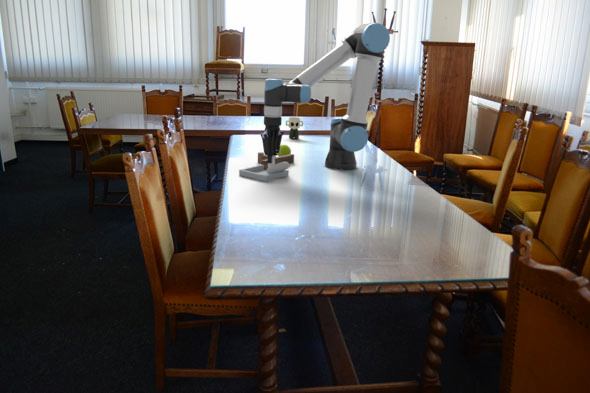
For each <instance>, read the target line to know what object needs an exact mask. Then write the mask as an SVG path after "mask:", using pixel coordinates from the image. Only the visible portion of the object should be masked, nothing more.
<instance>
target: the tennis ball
mask: <svg viewBox="0 0 590 393" xmlns="http://www.w3.org/2000/svg"><path fill="white" fill-rule="evenodd" d="M277 154H278V155H277V157H279V156H284V155H288V154H292V151H291V147H290V146H289V145H287V144H281V145H280V150H279V153H277Z"/></svg>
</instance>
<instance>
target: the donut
mask: <svg viewBox="0 0 590 393" xmlns="http://www.w3.org/2000/svg"><path fill="white" fill-rule="evenodd" d="M289 168H290V164H289V163H288V162H286V161H284V162H280V163H277V164H275V165H272V166H270V167H268V168H267V169H266V170H267V173H268V174H273V173H276V172H280V171H284V170H289Z"/></svg>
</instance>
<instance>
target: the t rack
mask: <svg viewBox="0 0 590 393" xmlns="http://www.w3.org/2000/svg"><path fill="white" fill-rule="evenodd" d="M284 161H286V162H288V163H289V165H290V164H293V163H295V154H293V153H291V154H288V155H284V156H276V159H275V164H277V163H280V162H284ZM257 163H258V164H260V165H264V170H267V168H268V156H267V155H265V154H264V151H263V152H262V151H259V152H257Z"/></svg>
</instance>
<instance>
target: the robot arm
mask: <svg viewBox="0 0 590 393" xmlns="http://www.w3.org/2000/svg"><path fill="white" fill-rule="evenodd" d="M390 36H391V35H390V32H389V30H388V28H387V27H386V26H385V25H384V24H382V23H379V22H370V23H366V24H365V23H364V24H361V25H359V26H358V27H356V28H355V29H354V30H353V31H351V32H350V34H348V35H347V36H345V37H344V38H343V39H342V40H341V43H340V44H339V45H338V46H336V47H335V48H333V49H332V50H331V51H329V52H328V53H327V54H326V55H324V56H323V57H321V58H320V59H319V60H316V62H315V63H313V64H312V65H311V66H309V67H308V68H306V69H305V70H304V71H302V72H301V73H300V74H298V75H296V77H294V78H293V79H292V80H290V81H288V82H286V83H284V80H283V79H281V78H266V79H265V81H264V92H263V93H264V104H263V106H264V108H263V110H264V111H263V115H264V117H263V125H264V126H265V127H264V132H263V133H262V132H261V133H260V138H261V140H262V146H263V147H262V148H263V153H264V155H267V156H268V167H270V166H272V165H275V159H276V157H278V154H277V153H279V150H280V146H281V145H282V139H283V136H284V131H282V130H281V126H282V115H283V103H295V104H296V103H299V104H303V103H304V104H305V103H307V104H308V103H309V102H310V101H311V97H312V87H314V86H315V85H316V84H317V83H319V82H320V81H322V80H323V79H324V78H326V77H327V76H328V75H330V74H331V73H333V72H335V70H337V69H338V68H339V67H341V66H342V65H343V64H345V63H346V62H348V60H350V59H355V58H356V59H357V60H356V63H355V64H356V65H355V69H354V75H353V80H352V85H351V90H350V94H349V95H350V96H349V99H348V103H347V110H346V114H345V115H343V117H340V118H337V117H333V118H332V119H331V122H330V132H329V133H330V134H329V149H328V153H327V155H326V157H325V160H324V166H325V167H326V168H328V169H331V170H343V171H345V170H346V171H348V170H354V169H356V168H357V164H358V163H357V160H356V159H357V158H356V154H355V152H359V151H361V150H363V149H364V148H365V147H366V145H367V144H368V141H369V135H368V132H367V129H368V125H369V124H368V123H369V121H368V120H367V112H368V109H369V104H370V99H371V93H372V91H373V90H372V89H373V85H374V80H375V77H376V76H375V75H376V71H377V66H378V62H380V61H381V60H382V59H383V56H384V51H385V50H386V49H387V48H388V46H389V44H390V39H391V37H390Z"/></svg>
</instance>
